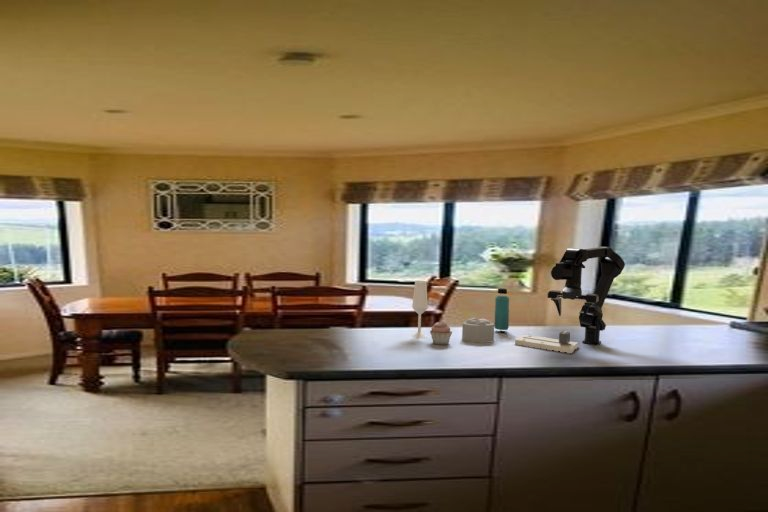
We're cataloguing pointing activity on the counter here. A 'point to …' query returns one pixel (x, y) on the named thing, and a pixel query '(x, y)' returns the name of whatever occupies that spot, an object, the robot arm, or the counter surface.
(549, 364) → the counter surface
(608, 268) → the robot arm
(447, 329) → the cupcake
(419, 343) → the counter surface
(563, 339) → the block
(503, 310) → the beverage bottle
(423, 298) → the champagne flute
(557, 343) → the panel
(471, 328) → the lumpy-topped squat cylinder
